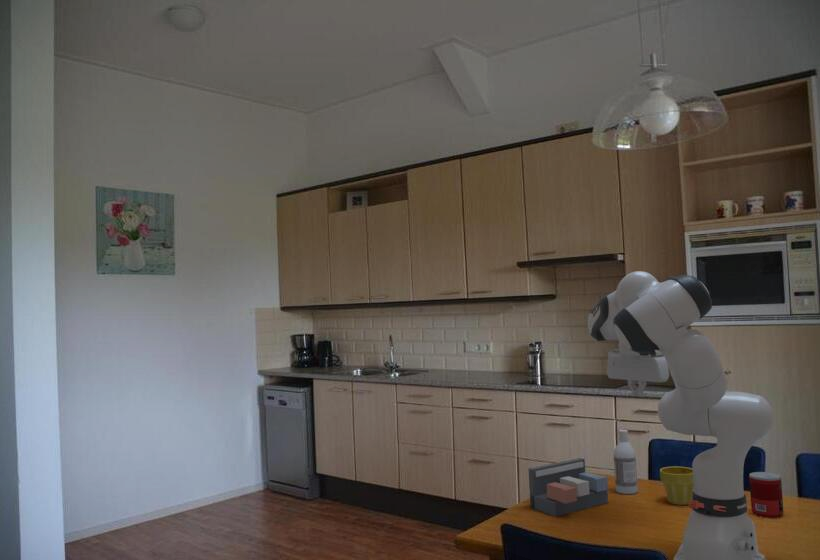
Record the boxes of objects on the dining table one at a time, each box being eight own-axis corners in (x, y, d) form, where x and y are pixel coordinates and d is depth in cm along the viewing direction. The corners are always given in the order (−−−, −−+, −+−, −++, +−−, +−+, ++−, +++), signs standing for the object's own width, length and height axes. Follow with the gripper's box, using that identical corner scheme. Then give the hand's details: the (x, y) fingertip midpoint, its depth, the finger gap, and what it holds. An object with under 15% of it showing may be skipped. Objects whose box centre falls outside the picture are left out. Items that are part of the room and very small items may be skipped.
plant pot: (657, 504, 200) (655, 471, 201) (667, 495, 208) (665, 464, 209) (693, 509, 194) (691, 475, 194) (701, 500, 202) (699, 468, 203)
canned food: (787, 518, 182) (784, 478, 182) (756, 518, 183) (753, 478, 184) (778, 510, 189) (775, 471, 190) (748, 509, 191) (745, 471, 191)
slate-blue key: (608, 489, 203) (607, 476, 203) (597, 492, 200) (596, 479, 201) (588, 484, 210) (587, 471, 210) (577, 487, 207) (577, 474, 208)
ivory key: (589, 494, 199) (588, 481, 199) (578, 497, 196) (577, 483, 196) (570, 488, 206) (569, 475, 206) (559, 491, 203) (558, 478, 203)
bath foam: (616, 488, 219) (612, 428, 220) (638, 489, 217) (634, 428, 218) (615, 494, 213) (611, 432, 214) (637, 495, 210) (633, 432, 212)
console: (608, 502, 204) (605, 463, 204) (555, 516, 192) (553, 475, 193) (582, 495, 213) (580, 458, 214) (530, 508, 202) (528, 468, 202)
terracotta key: (577, 501, 192) (576, 487, 192) (565, 504, 190) (564, 490, 190) (557, 495, 199) (556, 481, 199) (546, 498, 197) (545, 484, 197)
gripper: (600, 348, 202) (603, 393, 201) (655, 350, 185) (659, 399, 184) (615, 347, 205) (617, 392, 205) (670, 349, 188) (673, 397, 187)
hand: (637, 395), depth 194 cm, fingers closed
